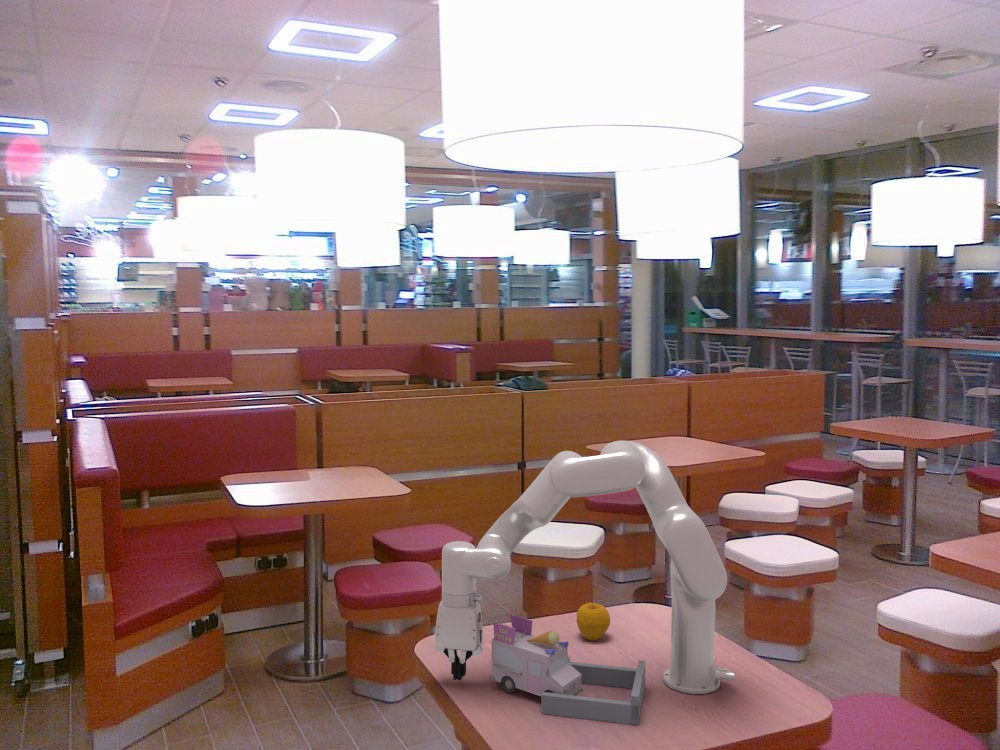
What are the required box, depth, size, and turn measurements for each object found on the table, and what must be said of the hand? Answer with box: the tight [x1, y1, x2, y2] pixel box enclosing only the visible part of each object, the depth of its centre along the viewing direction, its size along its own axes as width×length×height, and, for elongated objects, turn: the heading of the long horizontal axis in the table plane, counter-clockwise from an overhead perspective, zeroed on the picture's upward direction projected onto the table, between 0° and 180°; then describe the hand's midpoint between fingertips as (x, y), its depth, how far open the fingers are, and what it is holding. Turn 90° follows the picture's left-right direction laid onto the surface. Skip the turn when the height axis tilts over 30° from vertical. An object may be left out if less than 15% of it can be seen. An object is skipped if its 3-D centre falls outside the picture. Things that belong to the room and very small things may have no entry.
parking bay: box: [540, 660, 646, 726], centre depth 188 cm, size 20×18×6 cm
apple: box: [576, 602, 611, 642], centre depth 222 cm, size 9×8×9 cm
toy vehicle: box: [489, 614, 584, 697], centre depth 190 cm, size 9×20×15 cm, turn 53°
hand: (458, 677), depth 195 cm, fingers closed
